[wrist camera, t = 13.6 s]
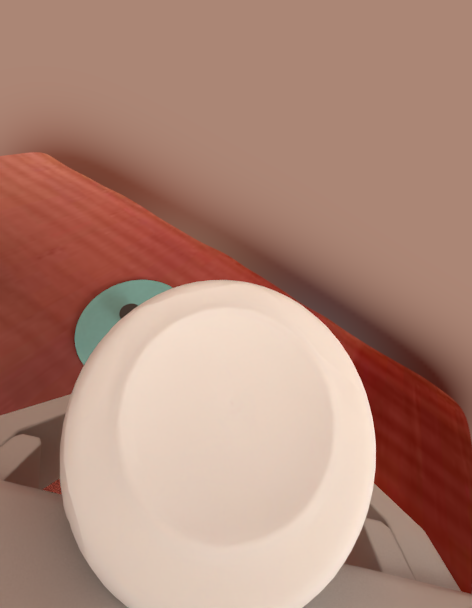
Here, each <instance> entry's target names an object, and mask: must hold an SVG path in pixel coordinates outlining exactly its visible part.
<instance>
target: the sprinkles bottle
mask: <svg viewBox="0 0 472 608" xmlns="http://www.w3.org/2000/svg"><path fill="white" fill-rule="evenodd" d="M375 467H376V443H375V431H374V425H373V418H372V414H371V410H370V406H369V402H368V398H367V395H366V392H365V389H364V387H363V384H362V382H361V379H360V377H359V375H358V373H357V370H356V368H355V366H354V364H353V363H352V361H351V359H350V357H349V356H348V354H347V352H346V351H345V349H344V348H343V346H342V345H341V343H340V342H339V341H338V339H337V338H336V337H335V336H334V335H333V334H332V332H331V331H330V330H329V329H328V328H327V327H326V326H325V325H324V324H323V323H322V322H321V321H320V320H319V319H318V318H317V317H316V316H314V315H313V314H312V313H311V312H310V311H308V310H307V309H306V308H305V307H303V306H302V305H300V304H299V303H297V302H296V301H294V300H292V299H291V298H289V297H287V296H285V295H283V294H280V293H278V292H276V291H274V290H271V289H269V288H266V287H263V286H260V285H256V284H252V283H248V282H240V281H232V280H208V281H201V282H194V283H189V284H185V285H182V286H178V287H175V288H171V289H169V290H167V291H165V292H162V293H160V294H158V295H156V296H154V297H152V298H150V299H149V300H147V301H145V302H143V303H142V304H140V305H139V306H137V307H136V308H134V309H133V310H132V311H130V312H129V313H128V314H127V315H126V316H124V317H123V318H122V319H121V320H119V321H118V322H117V323H116V324H115V325H114V326H113V327H112V328H111V329H110V331H109V332H108V333H107V334H106V335H105V336H104V338H103V339H102V340H101V341H100V342H99V343H98V345H97V346H96V348H95V349H94V350H93V352H92V353H91V355H90V356H89V358H88V360H87V361H86V363H85V365H84V366H83V368H82V370H81V372H80V375H79V377H78V379H77V381H76V384H75V386H74V389H73V391H72V394H71V396H70V399H69V403H68V406H67V410H66V414H65V418H64V421H63V428H62V435H61V442H60V484H61V491H62V498H63V506H64V510H65V514H66V517H67V519H68V521H69V523H70V527H71V530H72V533H73V535H74V537H75V540H76V542H77V544H78V547H79V549H80V551H81V553H82V554H83V556H84V558H85V559H86V561H87V563H88V564H89V566H90V567H91V569H92V570H93V571H94V573H95V574H96V576H97V577H98V578H99V580H100V581H101V582H102V584H103V585H104V586H105V587H106V588H107V589H108V590H109V591H110V592H111V593H112V594H113V595H114V596H115V597H116V598H117V599H118V600H120V601H121V602H122V603H123V604H124V605H125V606H127V607H128V608H302V607H304V606H305V605H306V604H307V603H309V602H310V601H311V600H312V599H313V598H314V597H316V596H317V595H318V594H319V593H320V592H321V591H322V590H323V589H324V588H325V587H326V586H327V585H328V583H329V582H330V581H331V580H332V579H333V578H334V577H335V575H336V574H337V572H338V571H339V569H340V568H341V566H342V565H343V564H344V562H345V560H346V559H347V557H348V556H349V554H350V552H351V551H352V549H353V546H354V544H355V542H356V540H357V538H358V536H359V534H360V532H361V530H362V527H363V524H364V521H365V518H366V515H367V512H368V509H369V505H370V500H371V496H372V491H373V484H374V475H375Z"/></svg>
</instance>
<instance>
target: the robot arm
mask: <svg viewBox="0 0 472 608" xmlns="http://www.w3.org/2000/svg"><path fill="white" fill-rule="evenodd" d="M70 396H71V394H70V395H66V396H63V397H60V398H57V399H53V400H50V401H47V402H43V403H40V404H37V405H34V406H30V407H27V408H24V409H20V410H17V411H14V412H11V413H7V414H4V415H1V416H0V608H128V607H127V606H125V605H124V604H123V603H122V602H121V601H120V600H118V599H117V598H116V597H115V596H114V595H113V594H112V593H111V592H110V591H109V590H108V589H107V588H106V587H105V586H104V585H103V584H102V582H101V581H100V580H99V578H98V577H97V576H96V574H95V573H94V571H93V570H92V569H91V567H90V566H89V564H88V563H87V561H86V559H85V558H84V556H83V554H82V553H81V551H80V549H79V547H78V544H77V542H76V540H75V537H74V535H73V533H72V530H71V527H70V523H69V521H68V519H67V517H66V514H65V510H64V506H63V498H62V495H61V494H57V493H53V492H49V491H45V490H42V489H44V488H45V487H47V486H49V485H50V484H52V483H53V482H55V481H56V480H58V479H59V478H60V442H61V435H62V428H63V421H64V418H65V414H66V410H67V406H68V403H69V399H70ZM302 608H472V594H469V593H465V592H461V590H460V589H459V587H458V585H457V584H456V582H455V581H454V579H453V577H452V576H451V574H450V572H449V571H448V569H447V567H446V566H445V564H444V563H443V561H442V559H441V558H440V556H439V554H438V553H437V551H436V549H435V548H434V546H433V544H432V543H431V541H430V540H429V538H428V536H427V535H426V533H425V531H424V530H423V529H422V528H421V527H420V526H419V525H418V524H416V523H415V522H414V521H413V520H412V519H411V518H410V517H409V516H408V515H407V514H406V513H405V512H404V511H403V510H402V509H401V508H400V507H398V506H397V505H396V504H395V503H394V502H393V501H392V500H391V499H390V498H389V497H388V496H387V495H386V494H385V493H384V492H383V491H381V490H380V489H379V488H378V487H377V486H376V485H375V484H373V491H372V496H371V500H370V505H369V509H368V512H367V515H366V518H365V521H364V524H363V527H362V530H361V532H360V534H359V536H358V538H357V540H356V542H355V544H354V546H353V549H352V551H351V552H350V554H349V556H348V557H347V559H346V560H345V562H344V564H343V565H342V566H341V568H340V569H339V571H338V572H337V574H336V575H335V577H334V578H333V579H332V580H331V581H330V582H329V583H328V585H327V586H326V587H325V588H324V589H323V590H322V591H321V592H320V593H319V594H318V595H317V596H316V597H314V598H313V599H312V600H311V601H310V602H309V603H307V604H306V605H305V606H304V607H302Z"/></svg>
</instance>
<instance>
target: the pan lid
mask: <svg viewBox="0 0 472 608" xmlns="http://www.w3.org/2000/svg"><path fill="white" fill-rule="evenodd" d="M171 288H172V287H171V286H169V285H166V284H164V283H161V282H157V281H152V280H133V281H127V282H123V283H120V284H117V285H115V286H112V287H110V288H108V289H107V290H105V291H103V292H102V293H100V294H99V295H98V296H96V297H95V298H94V299H93V300H92V301H91V302H90V303H89V304H88V305H87V307H86V308H85V309H84V311H83V312H82V314H81V316H80V318H79V320H78V323H77V326H76V330H75V347H76V351H77V354H78V356H79V358H80V360H81V362H82V363H83V365H85V363H86V361H87V360H88V358H89V356H90V355H91V353H92V352H93V350H94V349H95V348H96V346H97V345H98V343H99V342H100V341H101V340H102V339H103V338H104V336H105V335H106V334H107V333H108V332H109V331H110V329H111V328H112V327H113V326H114V325H115V324H116V323H117V322H118V321H119V320H121V319H122V318H123V317H124V316H126V315H127V314H128V313H129V312H130V311H132V310H133V309H134V308H136V307H137V306H139V305H140V304H142V303H143V302H145V301H147V300H149V299H150V298H152V297H154V296H156V295H158V294H160V293H162V292H165V291H167V290H169V289H171Z"/></svg>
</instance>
